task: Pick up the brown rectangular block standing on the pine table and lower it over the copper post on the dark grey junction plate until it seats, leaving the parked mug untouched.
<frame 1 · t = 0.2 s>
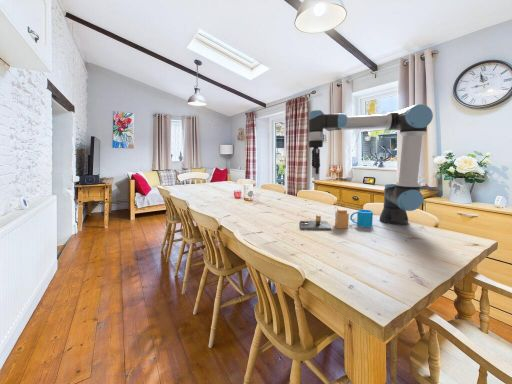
hand: (315, 178, 137), 28 cm above the table, fingers open, 13 cm apart
junction plate: (314, 226, 141), on the table
mug: (360, 224, 142), on the table
brown rectangular block: (341, 226, 139), on the table
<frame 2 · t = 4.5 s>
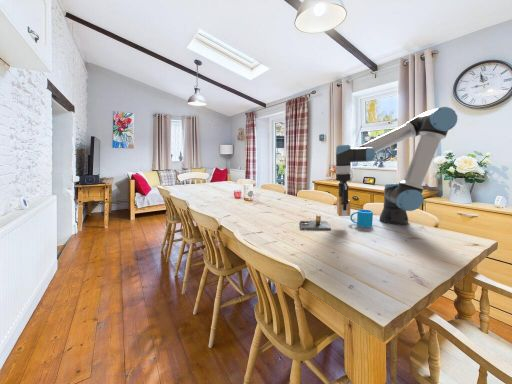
hand: (343, 214, 138), 7 cm above the table, fingers closed on brown rectangular block, 6 cm apart
brown rectangular block: (343, 214, 138), point 7 cm above the table, touching gripper
everything else where it was.
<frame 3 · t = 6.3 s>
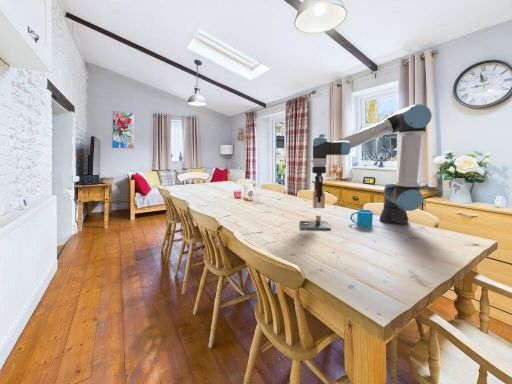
hand: (318, 206, 139), 12 cm above the table, fingers closed on brown rectangular block, 6 cm apart
brown rectangular block: (318, 207, 139), point 11 cm above the table, touching gripper
everything else where it was.
when the fingers open (2 cm above the table, at t = 8.2 s): brown rectangular block stays where it is, resting on junction plate.
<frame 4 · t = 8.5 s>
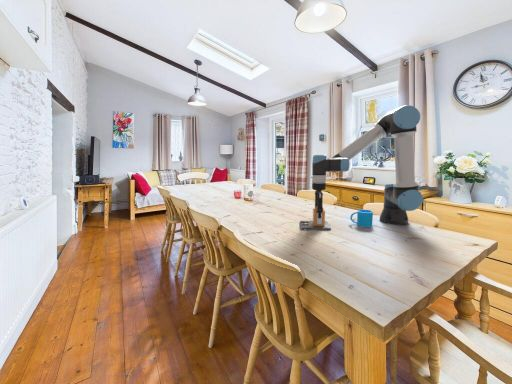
hand: (318, 221, 140), 3 cm above the table, fingers open, 9 cm apart
brown rectangular block: (318, 224, 141), point 1 cm above the table, touching junction plate
everything else where it was.
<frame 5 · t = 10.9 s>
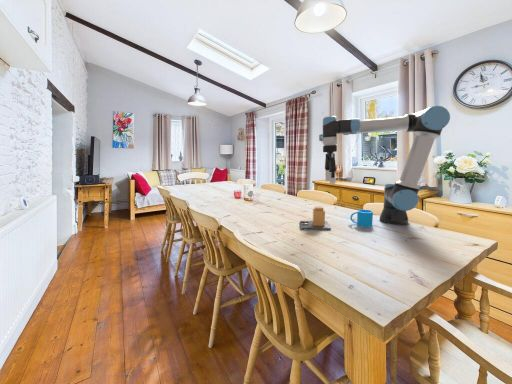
hand: (330, 182, 141), 25 cm above the table, fingers open, 13 cm apart
nothing on the table moved.
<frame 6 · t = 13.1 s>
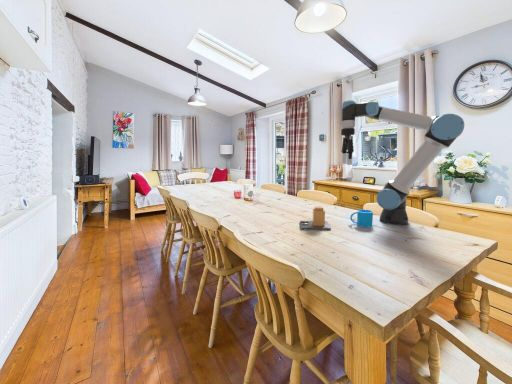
hand: (346, 164, 148), 35 cm above the table, fingers open, 13 cm apart
nothing on the table moved.
at the end: brown rectangular block 0.2 cm from the target spot on the junction plate, point 1.2 cm above the junction plate's base; brown rectangular block tilted 0°; the gripper is holding nothing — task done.
